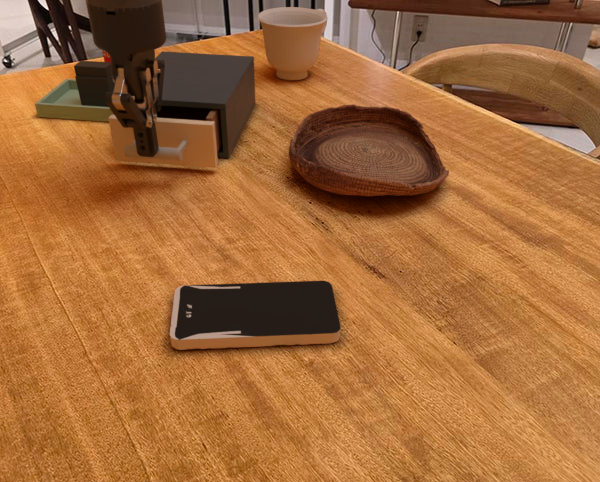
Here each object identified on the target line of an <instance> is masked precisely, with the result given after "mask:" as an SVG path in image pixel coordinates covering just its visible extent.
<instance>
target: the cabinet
mask: <svg viewBox="0 0 600 482" xmlns="http://www.w3.org/2000/svg"><path fill="white" fill-rule="evenodd" d="M155 59H160V60H164V63H165V70H164V81H163V92H162V103H161V105H162V106H177V107H193V108H208V109H220V117H221V131H222V145H221V146H220V148H219V150H218V152H217V158H219V159H230V157H231V156H232V154H233V152H234V149H235V147H236V145H237V143H238V141H239V139H240V137H241V135H242V133H243V131H244V129H245V127H246V125H247V122H248V121H249V119H250V116H251V115H252V113H253V111H254V108H255V106H256V87H255V86H256V84H255V83H256V82H255V78H256V77H255V56H252V55H251V56H250V55H232V54H217V53H216V54H215V53H214V54H213V53H198V52H182V51H181V52H179V51H163V50H162V51H161V52H160V53H158V55H156V56H155Z"/></svg>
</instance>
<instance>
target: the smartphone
mask: <svg viewBox="0 0 600 482" xmlns="http://www.w3.org/2000/svg"><path fill="white" fill-rule="evenodd" d="M171 311H172V312H171V319H170V326H169V339H170V345H171V347H172V348H173V349H175V350H176V351H185V350H186V351H189V350H190V351H191V350H208V349H209V350H211V349H212V350H213V349H232V348H233V349H234V348H256V347H279V346H302V345H303V346H304V345H324V344H325V345H327V344H335V343H337V342H338V341H339V340H340V337H341V336H340V335H341V322H340V317H339V313H338V308H337V303H336V299H335V293H334V289H333V285H332V283H331V282H329V281H327V280H303V281H301V280H300V281H299V280H298V281H297V280H296V281H273V282H271V281H269V282H241V283H220V284H219V283H214V284H185V285H183V284H182V285H179V286H178V287H176V289H175V290H174V296H173V302H172V310H171Z"/></svg>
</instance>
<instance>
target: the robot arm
mask: <svg viewBox="0 0 600 482" xmlns="http://www.w3.org/2000/svg"><path fill="white" fill-rule="evenodd" d="M85 5H86V10H87V14H88V20H89V25H90V30H91V35H92V40H93V44H94V45H95V47H97V48H98V49H99V50H100V51H102V50H104V51H106V52H107V53H108V54H109V55H110V56H111V75H112V78H113V82H114V83H115V86H114V91H113V93H111V92H106V94H105V102H106V104H107V105H108V107H109V108H110V110H111V111H112V112H113V114H114V115H115V117H116V118H117V119H118V121H119V122H120V124H121V125H122V126H123V127H124V128H133V131H134V137H135V143H136V149H137V153H138V155H139V156H142V157H154V156H155V155H156V153H157V152H158V151H159V146H158V140H157V133H156V126H155V123H154V122H156V121H157V111H160V110H161V103H162V92H163V81H164V70H165V63H164V60H160V59H155V58H156V52H155V51H156V50H158V49H159V48H161V47H163V46H164V44H165V43H166V41H167V33H166V24H165V15H164V8H163V0H85Z"/></svg>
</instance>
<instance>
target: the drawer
mask: <svg viewBox="0 0 600 482" xmlns="http://www.w3.org/2000/svg"><path fill="white" fill-rule="evenodd" d="M108 120H109V122H108V125H109V129H110V134H111V139H112V144H113V149H114V150H113V151H114V155H115V159H116V161H119V162H131V163H147V164H158V165H159V164H160V165H173V166H185V167H198V168H199V167H200V168H212V169H213V168H214V169H216V168H217V166H218V165H219V159H218V158H217V152H218V150H219V148H220V146H221V145H222V131H221V117H220V109H208V108H193V107H177V106H162V105H161V110H160V111H157V121H156V122H154V123H155V126H156V133H157V140H158V146H159V151H158V152H157V153H156V155H155V156H154V157H142V156H139V155H138V153H137V149H136V143H135V137H134V131H133V128H124V127H123V126H122V125H121V124H120V122H119V121H118V119H117V118H116V117H115V115H111V116H110V117H109V118H108Z"/></svg>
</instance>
